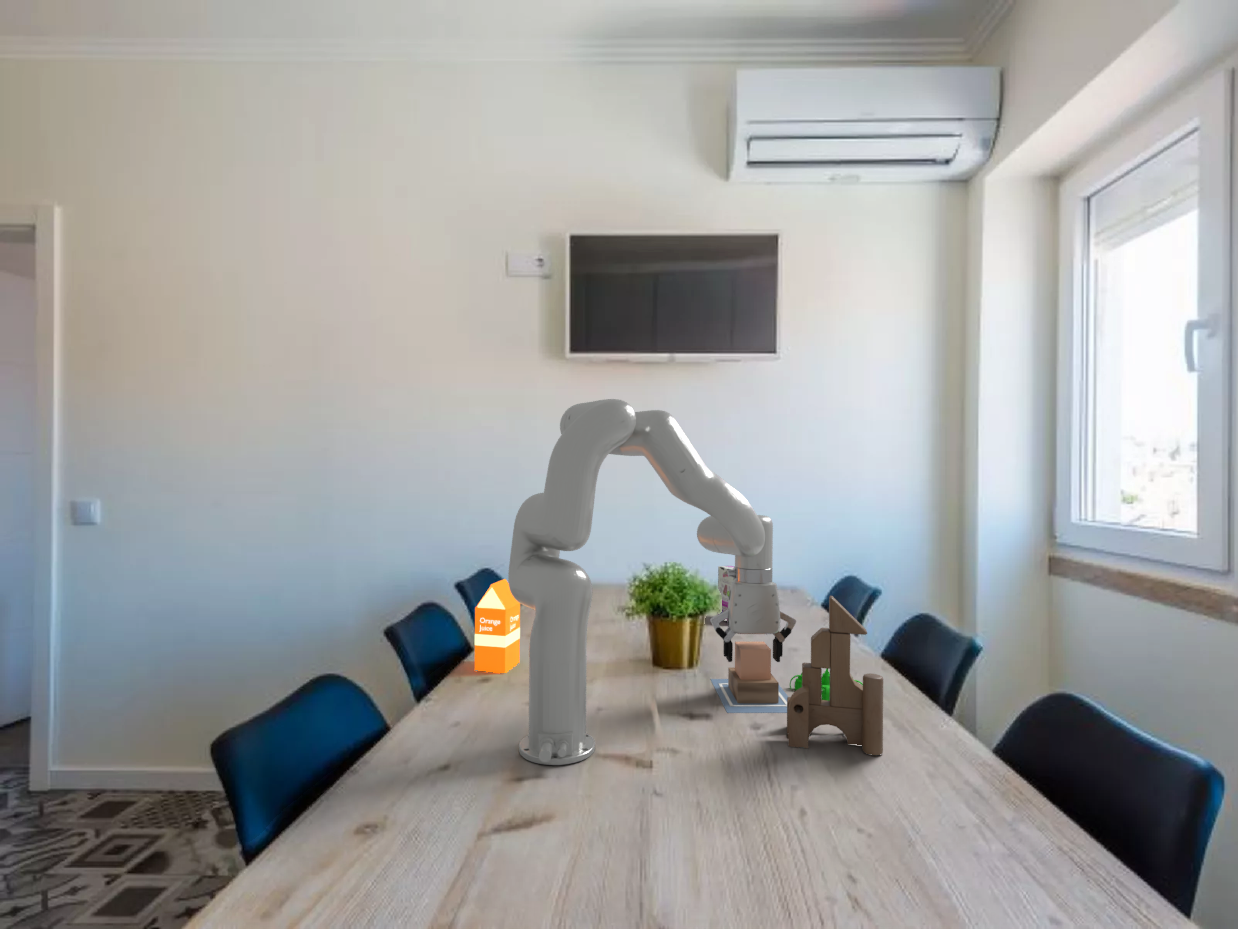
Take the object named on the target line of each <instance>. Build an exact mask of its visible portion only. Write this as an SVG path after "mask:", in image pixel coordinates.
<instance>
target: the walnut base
mask: <svg viewBox="0 0 1238 929" xmlns="http://www.w3.org/2000/svg"><path fill="white" fill-rule="evenodd" d="M727 668H728V674H727V676H728V678H727V679H728V687H729V689H730V690H731V692H732V694H733V696H734V697H735V699H736V701H737V703H778V701H779V686H780V684H779V682H778V680H777V679H776V677H775V676H774V675H773V674H772V673H771V680H741V679H740V678H739V676H738V675H737V673H736V672H735V667H727Z"/></svg>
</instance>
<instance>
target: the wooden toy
mask: <svg viewBox="0 0 1238 929" xmlns="http://www.w3.org/2000/svg"><path fill="white" fill-rule="evenodd" d="M828 603H829V604H828V606H829V607H828V627H820V628H819V629H818V630H817V631H816V632H815V633H814V634H813V635H811V637H810V662H802V664H801V673H802V687H801V688H799V689H798V690H795V691H794V692H793V693H792V694H791V696H788V698H787V713H786V738H787V740H788V745H787V746H788V747H790V748H799V747H804V748H803V749H809V740H810V736H811V733H812V732H813V731H814V730H815V729H816V728H818V727H820V726H827V725H829V726H833V727H836V728H837V729H839V731H841V732H842V733H843V735H844V737H845V738H846V742H847V745H848V744H857V745H862V747H861V748H862V750H861V751H862V752H863V751H864V752H865V753H867V754H872V755H880V754H882V755H883V752H884V677H883V676H882V675H880V674H877V673H864V674H863V676H862V684H863V685H862V684H860V683H859V682H856V681H855V680H856V679H854V677H853V675H852V674H851V635H863V636H864V635H865V636H866V635H868V632H867V629H866V627H864V626H863V625H862V624H861V622H859V621H858V620H857V619H856V618H855V617H854V616H853V615H852V614H851V613H850V612H849V611H848V610H847V609H846V608H845V606H843V605H842V604H841V603H840V602H839V601H838V600H837V599H836V598H835V597H834V596H833V595H829V598H828ZM829 668H830V669H829ZM822 669H825V670H826V669H828V670H829V674H830V694H829V700H830V701H828V700H822V690H821V689H822V688H821V687H822V686H821V685H822V674H823V673H822V671H823V670H822ZM864 752H863V753H864ZM865 753H864V754H865ZM867 754H866V755H867ZM880 756H881V755H880Z"/></svg>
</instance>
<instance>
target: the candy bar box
mask: <svg viewBox="0 0 1238 929" xmlns="http://www.w3.org/2000/svg"><path fill="white" fill-rule="evenodd" d="M717 567H718V572H717V573H718V575H717V590H718V589H719V591H720V593H721V595H722V612H724V611H726V610H728V601H729V593H730V587H731V583H732V581H735V579H734V578H733V577H728V570H733V568H734V566H732V565H718V566H717ZM722 612H721V613H722Z"/></svg>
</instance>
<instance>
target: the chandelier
mask: <svg viewBox="0 0 1238 929" xmlns="http://www.w3.org/2000/svg"><path fill="white" fill-rule="evenodd" d="M794 679H795V681H794V690H795V691H796V690H798V689H799V688H801V687H802V672H801V673H800V674H796V675H794V676H793V677H791V679H790V682H789V689H790V690H792V685H791V683H792V681H793V680H794ZM854 680H855V681H856V682H858V683H859V684H861V685H862V686H863V682H862V681H859V680H858V679H854ZM829 694H830V668H829V669H826V668H825V671H824V672H823V673H822V682H821V700H828V701H830V700H829Z"/></svg>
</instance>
